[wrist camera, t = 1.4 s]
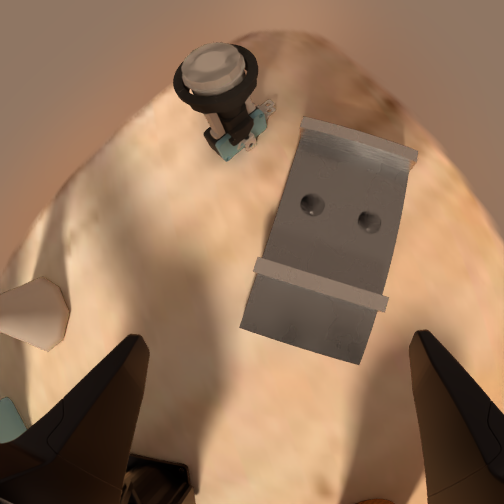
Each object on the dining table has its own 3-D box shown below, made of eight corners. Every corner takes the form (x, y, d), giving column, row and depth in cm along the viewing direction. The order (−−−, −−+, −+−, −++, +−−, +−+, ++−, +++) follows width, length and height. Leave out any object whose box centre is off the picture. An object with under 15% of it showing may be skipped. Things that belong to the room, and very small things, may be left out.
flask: (44, 264, 27) (-31, 248, 17) (80, 312, 25) (-2, 311, 15) (18, 315, 27) (-52, 312, 17) (51, 363, 25) (-24, 375, 15)
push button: (254, 96, 26) (233, 15, 16) (296, 128, 25) (290, 45, 15) (198, 141, 26) (152, 70, 16) (237, 178, 25) (201, 110, 15)
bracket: (356, 361, 21) (364, 370, 18) (242, 326, 23) (233, 329, 20) (405, 167, 23) (418, 150, 20) (303, 137, 25) (303, 116, 21)
